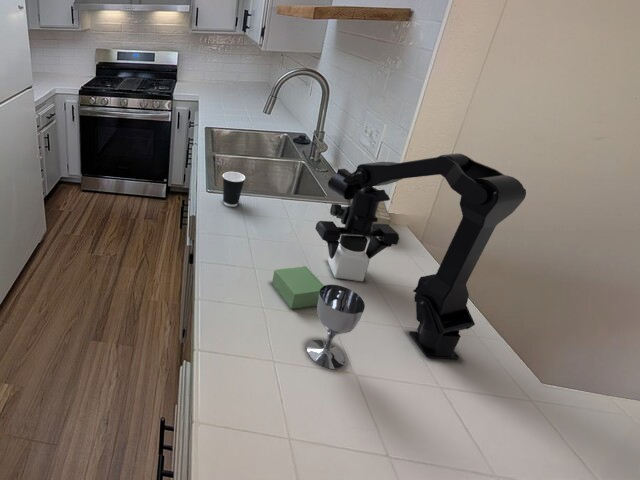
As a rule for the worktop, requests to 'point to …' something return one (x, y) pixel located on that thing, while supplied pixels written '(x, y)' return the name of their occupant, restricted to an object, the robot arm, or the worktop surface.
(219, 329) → the worktop surface
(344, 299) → the wine glass
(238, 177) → the dixie cup
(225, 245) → the worktop surface
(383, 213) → the block tower
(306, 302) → the green block
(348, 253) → the medicine bottle
